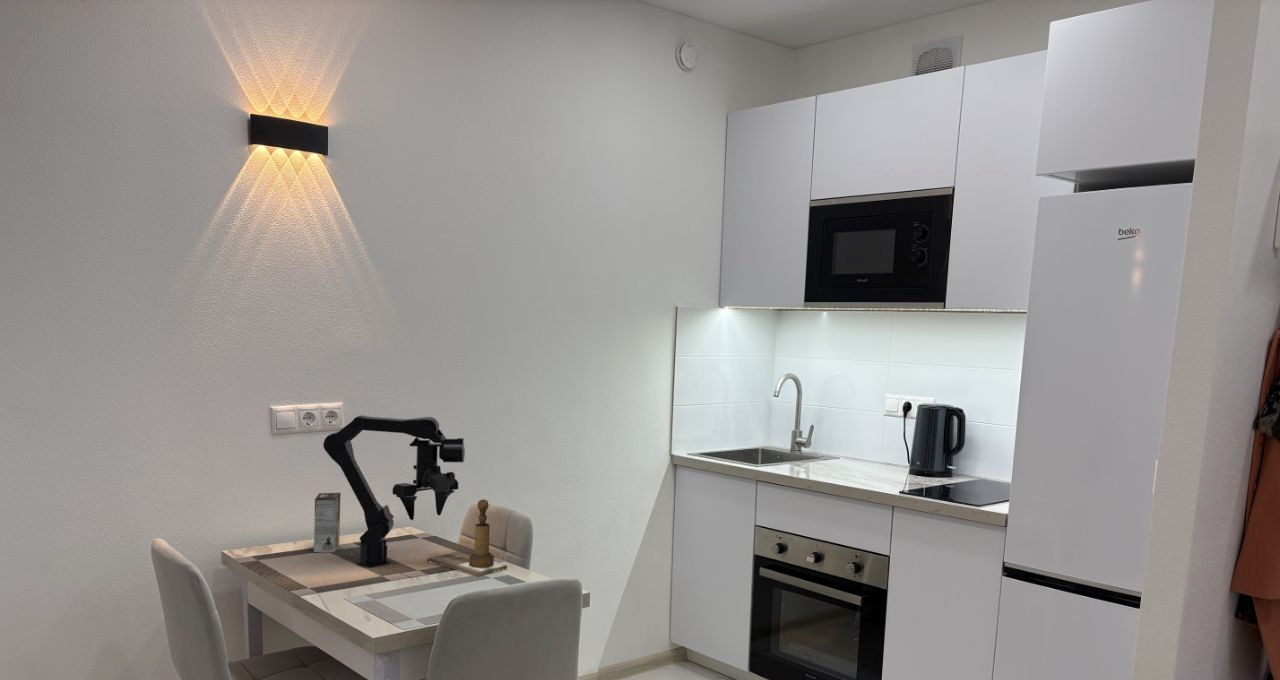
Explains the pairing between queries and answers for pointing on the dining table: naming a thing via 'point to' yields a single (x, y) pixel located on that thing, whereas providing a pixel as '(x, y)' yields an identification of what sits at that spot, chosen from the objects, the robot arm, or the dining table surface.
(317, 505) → the coffee box
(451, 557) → the grey brown flat rectangle
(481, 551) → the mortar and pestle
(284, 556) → the dining table surface
